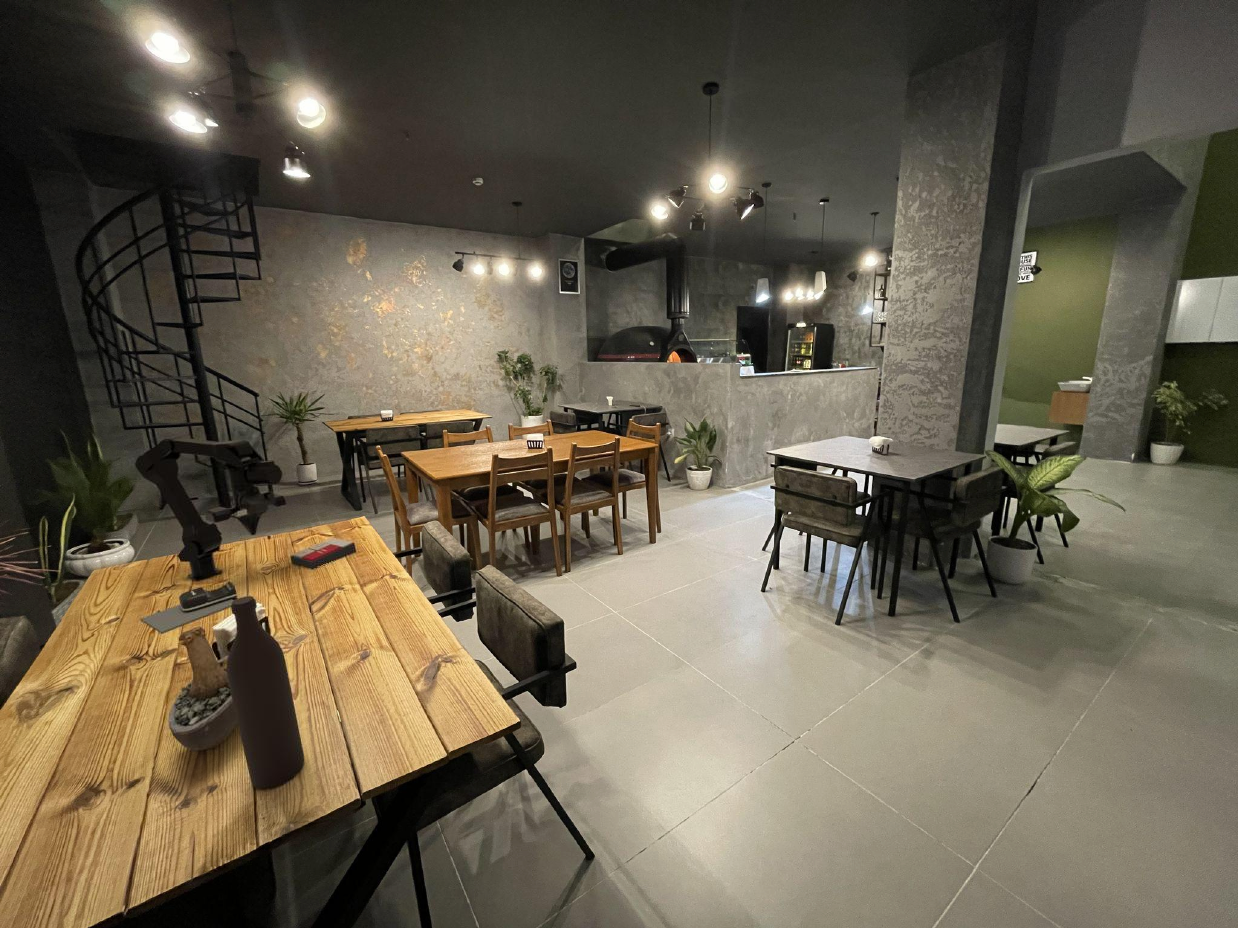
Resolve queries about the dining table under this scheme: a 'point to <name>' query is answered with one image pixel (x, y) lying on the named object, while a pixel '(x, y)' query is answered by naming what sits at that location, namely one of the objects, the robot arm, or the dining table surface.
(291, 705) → the wine bottle
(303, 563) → the grey and red box
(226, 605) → the mat
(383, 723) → the dining table surface
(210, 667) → the planter
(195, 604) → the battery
